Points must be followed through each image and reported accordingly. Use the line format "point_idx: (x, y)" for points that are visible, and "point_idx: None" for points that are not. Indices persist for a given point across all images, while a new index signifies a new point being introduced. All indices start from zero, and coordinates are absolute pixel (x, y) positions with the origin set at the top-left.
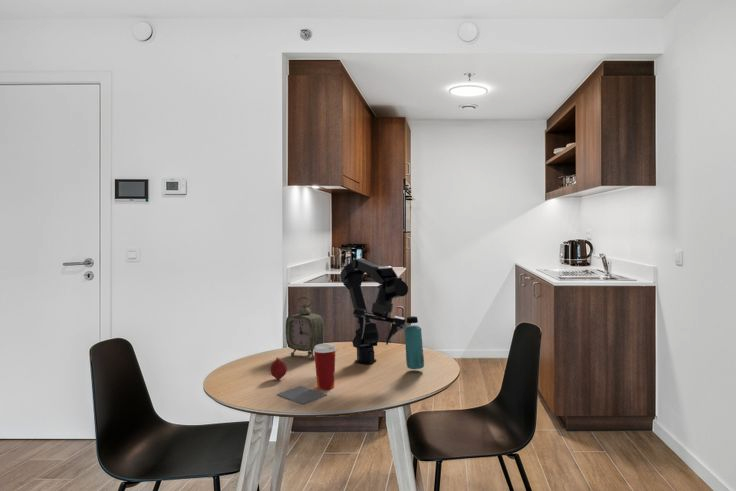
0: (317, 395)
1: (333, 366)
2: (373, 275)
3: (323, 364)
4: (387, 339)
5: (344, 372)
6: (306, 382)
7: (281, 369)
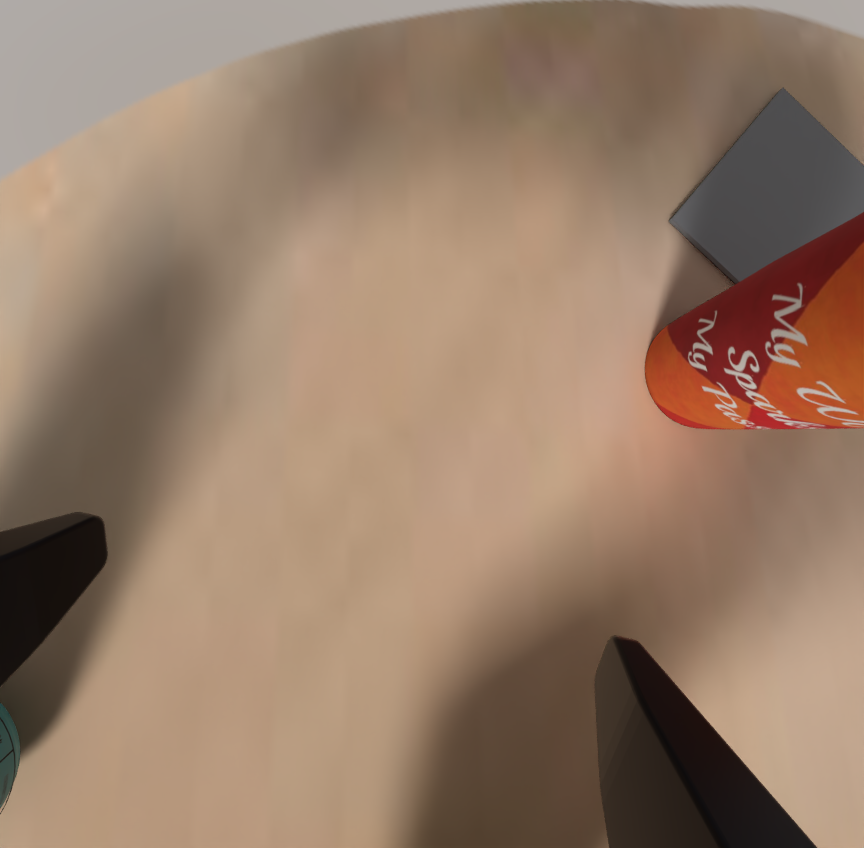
0: (725, 202)
1: (758, 290)
2: None
3: None
4: (4, 553)
5: None
6: (832, 476)
7: None
